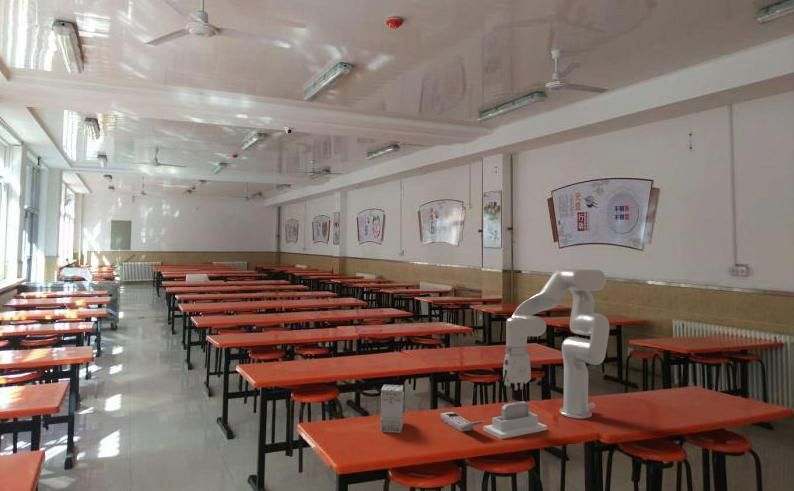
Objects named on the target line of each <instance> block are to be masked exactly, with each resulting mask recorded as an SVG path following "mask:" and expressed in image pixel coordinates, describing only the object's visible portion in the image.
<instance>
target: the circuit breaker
mask: <svg viewBox="0 0 794 491" xmlns="http://www.w3.org/2000/svg"><path fill="white" fill-rule="evenodd" d="M380 391H381V393H380V403H381V404H380V405H381V406H380V430H379V432H381V433H382V432H384V433H399V434H400V433H401V432H402V428H403V426H404V423H403V422H404V419H403V418H404V412H405V392H404V384H400V385H399V384H383V386H381V390H380Z"/></svg>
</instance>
